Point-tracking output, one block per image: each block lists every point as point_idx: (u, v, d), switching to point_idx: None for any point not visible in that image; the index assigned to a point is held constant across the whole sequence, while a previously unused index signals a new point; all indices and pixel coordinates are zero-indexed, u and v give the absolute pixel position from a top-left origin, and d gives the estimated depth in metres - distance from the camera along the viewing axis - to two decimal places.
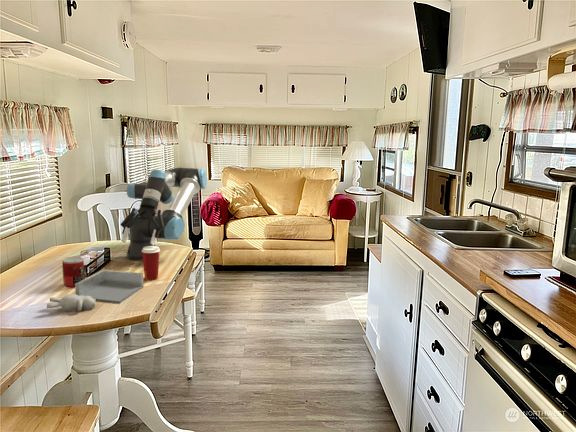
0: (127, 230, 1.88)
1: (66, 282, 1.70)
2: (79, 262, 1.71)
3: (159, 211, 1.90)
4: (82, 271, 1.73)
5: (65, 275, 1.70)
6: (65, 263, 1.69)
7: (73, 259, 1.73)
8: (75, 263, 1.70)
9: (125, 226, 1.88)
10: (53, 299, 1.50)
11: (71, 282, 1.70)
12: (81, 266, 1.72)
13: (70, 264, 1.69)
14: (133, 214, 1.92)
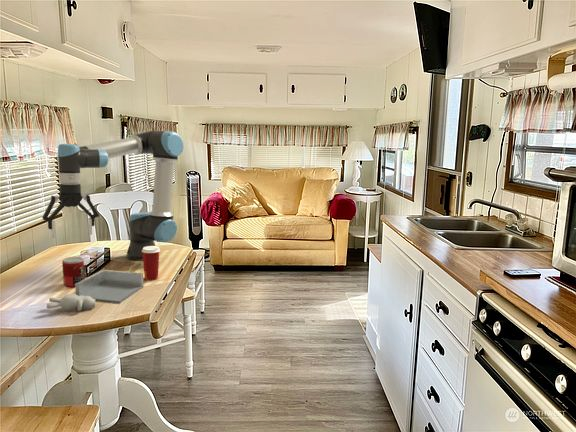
0: (53, 223, 1.66)
1: (66, 282, 1.70)
2: (79, 262, 1.71)
3: (88, 197, 1.71)
4: (82, 271, 1.73)
5: (65, 275, 1.70)
6: (65, 263, 1.69)
7: (73, 259, 1.73)
8: (75, 263, 1.70)
9: (51, 220, 1.64)
10: (53, 299, 1.50)
11: (71, 282, 1.70)
12: (81, 266, 1.72)
13: (70, 264, 1.69)
14: (53, 203, 1.65)
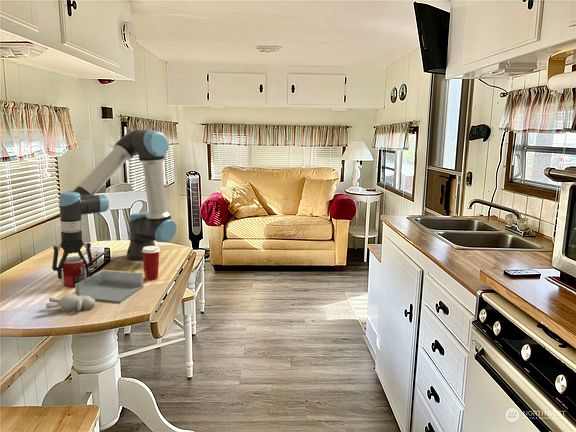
0: None
1: (66, 282, 1.70)
2: (79, 262, 1.71)
3: (89, 245, 1.74)
4: (82, 271, 1.73)
5: (65, 275, 1.70)
6: (65, 263, 1.69)
7: (73, 259, 1.73)
8: (75, 263, 1.70)
9: (60, 270, 1.69)
10: (52, 299, 1.50)
11: (71, 282, 1.70)
12: (81, 266, 1.72)
13: (70, 264, 1.69)
14: (57, 252, 1.68)
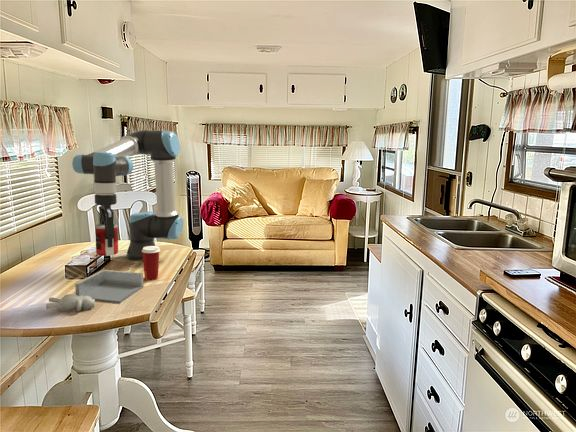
0: None
1: (115, 248, 1.60)
2: None
3: None
4: None
5: (114, 241, 1.59)
6: (114, 228, 1.59)
7: (103, 226, 1.60)
8: None
9: None
10: (52, 299, 1.50)
11: (117, 247, 1.62)
12: None
13: (117, 227, 1.61)
14: None
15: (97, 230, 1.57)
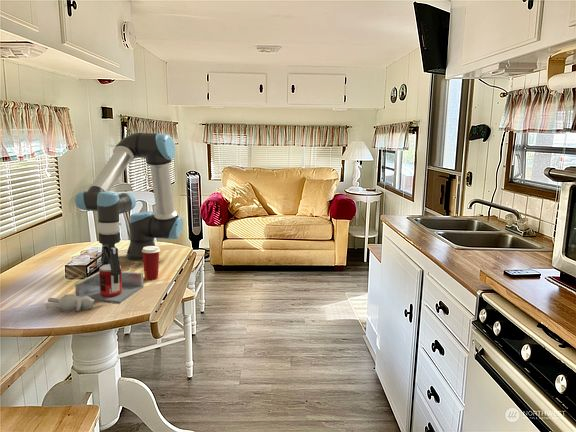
0: None
1: None
2: None
3: None
4: None
5: None
6: None
7: (107, 267, 1.62)
8: None
9: None
10: (51, 299, 1.49)
11: (121, 287, 1.65)
12: None
13: (120, 269, 1.63)
14: None
15: (101, 272, 1.59)
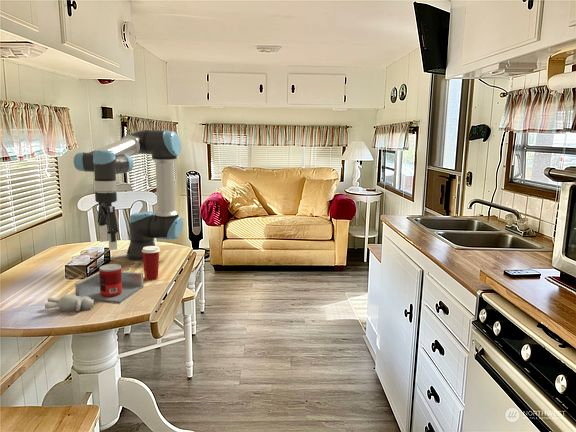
0: None
1: (119, 289, 1.63)
2: None
3: None
4: None
5: (118, 282, 1.62)
6: (118, 270, 1.61)
7: (107, 267, 1.62)
8: None
9: (116, 231, 1.57)
10: (51, 299, 1.49)
11: (121, 287, 1.65)
12: None
13: (120, 269, 1.63)
14: None
15: (101, 272, 1.59)
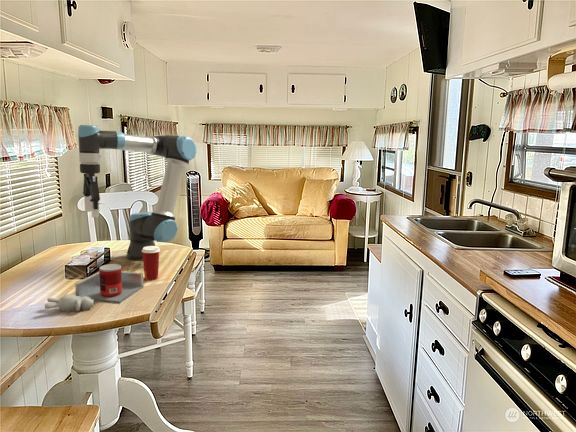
0: None
1: (119, 289, 1.63)
2: None
3: None
4: None
5: (118, 282, 1.62)
6: (118, 270, 1.61)
7: (107, 267, 1.62)
8: None
9: (98, 200, 1.70)
10: (51, 299, 1.49)
11: (121, 287, 1.65)
12: None
13: (120, 269, 1.63)
14: None
15: (101, 272, 1.59)
